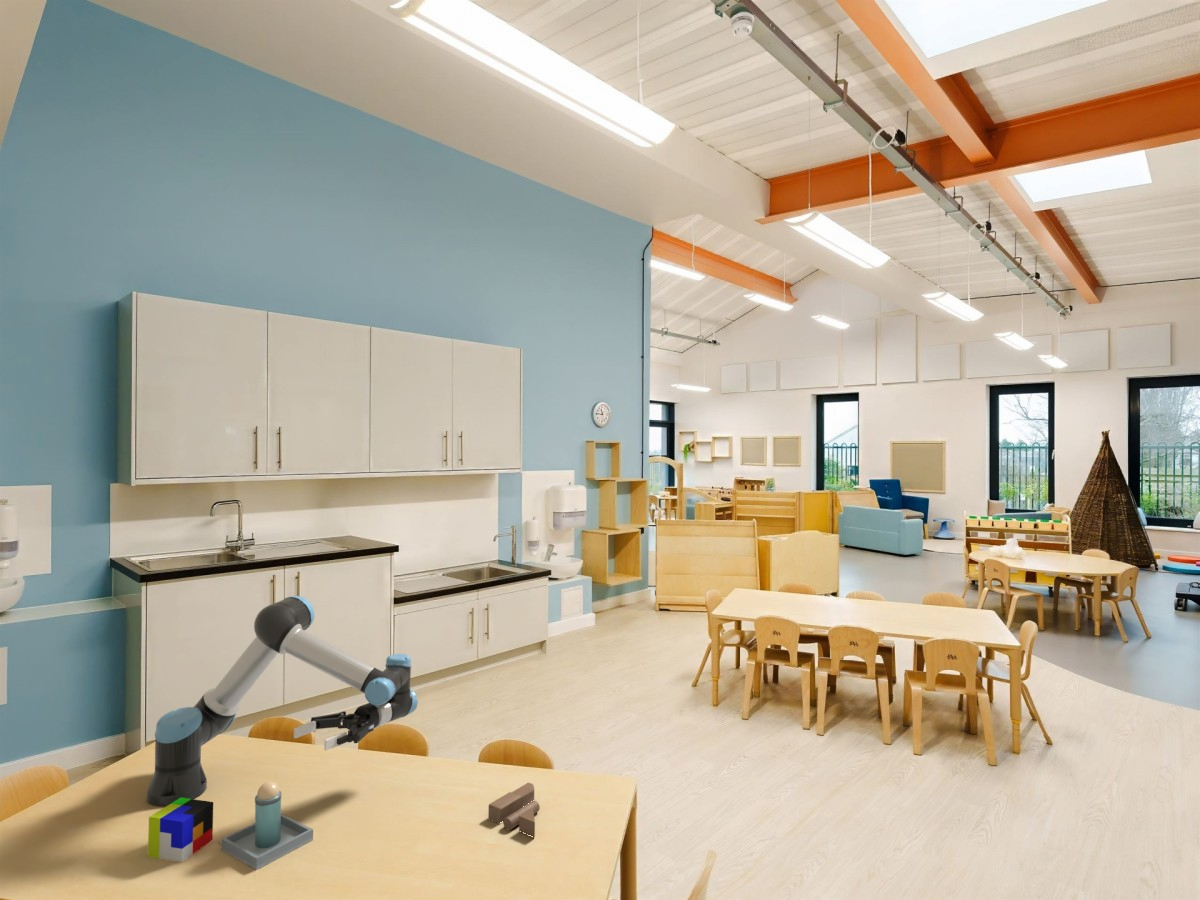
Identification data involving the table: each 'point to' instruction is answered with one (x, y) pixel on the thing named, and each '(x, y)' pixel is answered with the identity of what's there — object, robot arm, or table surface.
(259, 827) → the ball tube
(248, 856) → the tray
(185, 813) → the puzzle toy
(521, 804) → the wooden block set
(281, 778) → the table surface
